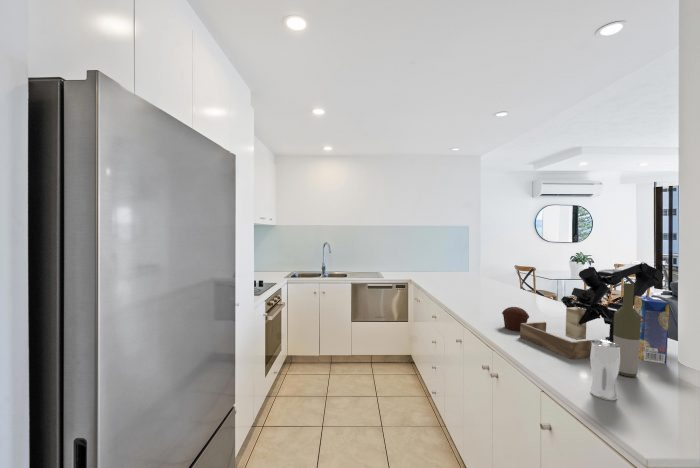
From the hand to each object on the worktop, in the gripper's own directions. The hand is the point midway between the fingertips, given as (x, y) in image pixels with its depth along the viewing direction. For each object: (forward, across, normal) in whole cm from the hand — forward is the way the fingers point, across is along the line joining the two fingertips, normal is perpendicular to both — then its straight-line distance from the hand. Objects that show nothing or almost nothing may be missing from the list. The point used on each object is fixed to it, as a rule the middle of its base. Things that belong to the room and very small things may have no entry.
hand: (573, 322), depth 139 cm
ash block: (+4, 0, +6) cm, 7 cm away
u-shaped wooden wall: (+12, 0, +1) cm, 13 cm away
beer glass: (+28, +36, -15) cm, 48 cm away
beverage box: (-5, +17, +19) cm, 26 cm away
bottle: (+13, +26, +1) cm, 29 cm away
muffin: (+12, -23, +1) cm, 26 cm away
